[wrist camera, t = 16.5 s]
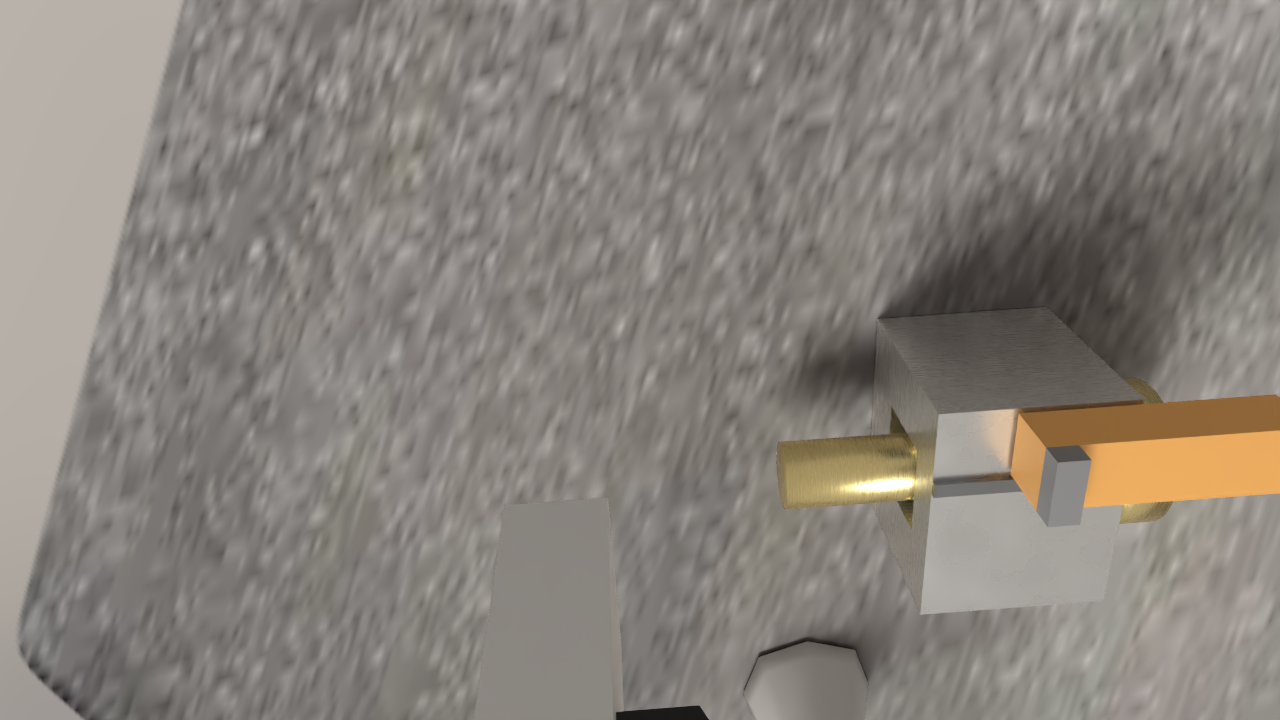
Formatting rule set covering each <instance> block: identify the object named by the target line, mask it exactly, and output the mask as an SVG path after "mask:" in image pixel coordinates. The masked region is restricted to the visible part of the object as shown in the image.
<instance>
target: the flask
mask: <svg viewBox="0 0 1280 720" xmlns="http://www.w3.org/2000/svg"><path fill="white" fill-rule="evenodd" d="M743 695H744V697H745V699H746V701H747V703H748V705H749V707H750V710H751V712H752V714H753V716H754V718H755V720H864V719H865V711H866V703H867V695H868V682H867V679H866V677H865V674H864V672H863V669H862V667H861V664H860V662H859V659H858V656H857V654H856V651H855V650H853V649H847V648H842V647H836V646H831V645H825V644H819V643H814V642H808V641H807V642H804V643H801V644H797V645H794V646H791V647H788V648H785V649H782V650H779V651H776V652H773V653H770V654H767V655H764V656H761V657H759V658H758V660H757V662H756V665H755V667H754V669H753V672H752V674H751V676H750V679H749V681H748V684H747V686H746V688H745V691H744V693H743Z"/></svg>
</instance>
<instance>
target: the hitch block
mask: <svg viewBox="0 0 1280 720" xmlns="http://www.w3.org/2000/svg"><path fill="white" fill-rule="evenodd" d="M1143 403H1144V399H1143V398H1142V397H1141V396H1140V395H1139V394H1138V393H1137V392H1136V391H1135V390H1134V389H1133V388H1132V387H1131V386H1130V385H1129V384H1127V383H1126V382H1125V381H1124V380H1123V379H1122V378H1121V377H1120V376H1119V375H1118V374H1117V373H1116V372H1115V371H1114V370H1113V369H1112V368H1111V367H1110V366H1108V365H1107V364H1106V363H1105V362H1104V361H1103V360H1102V359H1101V358H1100V357H1099V356H1098V355H1097V354H1096V353H1095V352H1094V351H1093V350H1092V349H1091V348H1089V347H1088V346H1087V345H1086V344H1085V343H1084V342H1083V341H1082V340H1081V339H1080V338H1079V337H1078V336H1077V335H1076V334H1075V333H1074V332H1073V331H1072V330H1070V329H1069V328H1068V327H1067V326H1066V325H1065V324H1064V323H1063V322H1062V321H1061V320H1060V319H1059V318H1058V317H1057V316H1056V315H1055V314H1054V313H1053V312H1051V311H1050V310H1049V309H1048V308H1047V307H1038V308H1024V309H1010V310H996V311H982V312H968V313H954V314H940V315H926V316H912V317H898V318H884V319H877V336H876V354H875V371H874V389H873V407H872V424H871V435H880V434H894V433H907V434H908V436H909V438H910V440H911V442H912V443H913V445H914V447H915V449H916V450H917V452H918V456H917V468H916V480H915V492H914V500H907V501H894V502H880V503H871V505H872V507H873V509H874V511H875V514H876V516H877V518H878V520H879V523H880V525H881V527H882V529H883V532H884V534H885V536H886V538H887V541H888V543H889V545H890V547H891V550H892V552H893V554H894V556H895V559H896V561H897V563H898V566H899V568H900V570H901V572H902V575H903V577H904V579H905V581H906V584H907V586H908V588H909V590H910V593H911V595H912V597H913V599H914V602H915V604H916V606H917V608H918V611H919V613H920V615H922V614H935V613H948V612H961V611H974V610H988V609H1001V608H1014V607H1027V606H1041V605H1054V604H1067V603H1080V602H1094V601H1104V596H1105V591H1106V586H1107V582H1108V577H1109V572H1110V567H1111V562H1112V557H1113V552H1114V547H1115V542H1116V537H1117V532H1118V527H1119V522H1120V517H1121V512H1122V507H1123V505H1113V506H1100V507H1086V508H1083V511H1082V517H1081V523H1080V525H1071V526H1058V527H1047V526H1046V524H1045V523H1044V521H1043V520H1042V519H1041V517H1040V516H1039V514H1038V513H1037V511H1036V510H1035V509H1034V507H1033V506H1032V504H1031V503H1030V501H1029V500H1028V499H1027V497H1026V496H1025V494H1024V493H1023V491H1022V490H1021V489H1020V487H1019V486H1018V484H1017V483H1016V481H1015V480H1014V479H1013V477H1012V476H1011V467H1012V460H1013V453H1014V445H1015V438H1016V430H1017V423H1018V416H1019V413H1031V412H1045V411H1058V410H1072V409H1086V408H1099V407H1113V406H1127V405H1140V404H1143Z"/></svg>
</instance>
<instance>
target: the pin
mask: <svg viewBox="0 0 1280 720" xmlns="http://www.w3.org/2000/svg"><path fill="white" fill-rule="evenodd" d="M1123 380H1124V381H1125V382H1126V383H1127V384H1129V385H1130V386H1131V387H1132V388H1133V389H1134V390H1135V391H1136V392H1137V393H1138V394H1139V395H1140V396H1141V397H1142V398H1143V399H1144V403H1143V404H1154V403H1163V401H1162V400H1161V398H1160V397H1159V395H1158V394H1157V393H1156V391H1155V390H1154V389H1153V388H1152V387H1151V386H1150V385H1148V384H1147V383H1146V382H1144V381H1142V380H1140V379H1136V378H1125V379H1123ZM917 456H918V452H917V450H916V449H915V447H914V445H913V443H912V442H911V440H910V438H909V436H908V434H907V433H894V434H880V435H867V436H853V437H839V438H826V439H812V440H798V441H785V442H779V443H778V445H777V477H778V486H779V492H780V497H781V501H782V505H783V507H784V509H799V508H813V507H826V506H840V505H853V504H867V503H880V502H894V501H907V500H914V492H915V480H916V468H917ZM1172 502H1173V501H1167V502H1154V503H1140V504H1127V505H1123V507H1122V512H1121V517H1120V522H1119V524H1125V523H1138V522H1151V521H1156V520H1158V519H1160V518H1161V517H1162V516H1164V515H1165V514H1166V512H1167V511H1168V510H1169V508H1170V506H1171V505H1172Z"/></svg>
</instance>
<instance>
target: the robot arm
mask: <svg viewBox="0 0 1280 720" xmlns="http://www.w3.org/2000/svg"><path fill="white" fill-rule="evenodd" d="M474 720H709V719H708V718H707V716H706V715H705V713H704V712H703V710H702V709H701V707H700V706H687V707H674V708H661V709H648V710H635V711H623V685H622V657H621V636H620V625H619V614H618V603H617V592H616V581H615V570H614V559H613V548H612V537H611V526H610V514H609V503H608V497H606V498H593V499H579V500H566V501H553V502H539V503H526V504H512V505H504V511H503V518H502V525H501V532H500V539H499V546H498V553H497V560H496V567H495V574H494V581H493V588H492V595H491V602H490V609H489V616H488V624H487V631H486V638H485V645H484V652H483V659H482V666H481V673H480V680H479V687H478V694H477V701H476V708H475V715H474Z"/></svg>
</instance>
